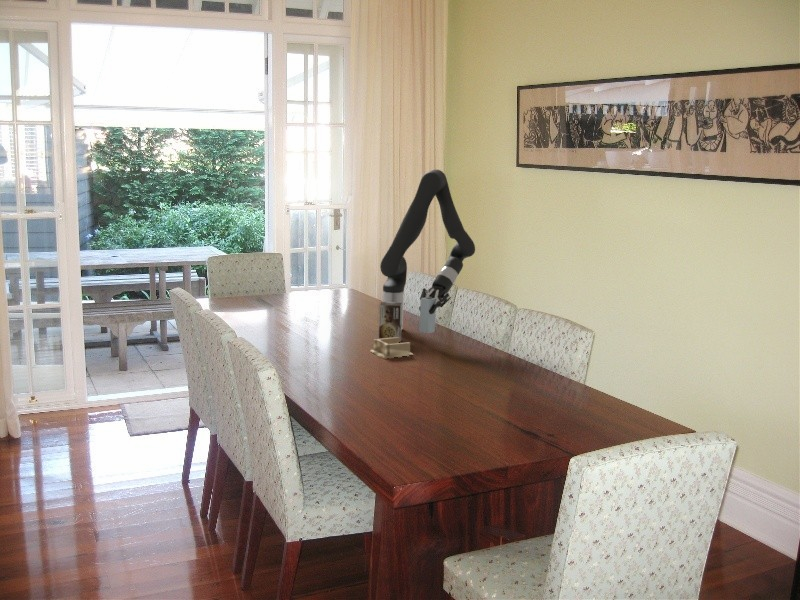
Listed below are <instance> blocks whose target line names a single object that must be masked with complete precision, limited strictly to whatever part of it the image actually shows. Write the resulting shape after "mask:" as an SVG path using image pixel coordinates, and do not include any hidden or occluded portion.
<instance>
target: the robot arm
mask: <svg viewBox="0 0 800 600" xmlns="http://www.w3.org/2000/svg"><path fill="white" fill-rule="evenodd" d="M446 176H447V175H446V174H445V173H444V172H443V171H442V170H441V169H433V170H432V169H431V170H429V171H426V172H425V173H424V174H423V175H422V177H421V179H420V182H419V184H418V187H417V190H416V193H415V195H414V198H413V200H412V202H411V203H410V205H409V208H408V209H407V211H406V213H405V215H404V217H403V219H402V221H401V224H400V225H399V228H398V229H397V232H396V234H395V236H394V238H393V241H392V242H391V245H390V246H389V248H388V250H387V251H386V253H385V254H384V256H383V257H382V260H381V261H380V265H379V266H380V268H379V269H380V272H381V273H382V275H383V276H384V277H386V278H387V280H386V281H385V283H384V284H383V285H382V302H397V303H402V320H401V331H402V330H403V329H404V327H403V325H404V324H403V322H404V300H405V299H404V297H405V295H404V294H405V286H406V283H407V273H408V271H407V270H408V266H407V260H406V258H405V257H404V255H405V253H406V252H407V250H408V249H409V248H410V247H411V246H412V245H413V244H414V243H415V242H416V240H417V239H418V238H419V237H420V234H421V233H422V231H423V228H425V227H424V226H425V224H426V222H427V218H428V212H429V208H430V205H431V204H432V201H433V199H434V198H435V197H436V199H437V202H438V206H439V208H440V213H441V219H442V220H441V221H442V223H443V225H444V228H445V230H446V232H447V235H448V237H449V238H450V239H452V240H455V242H456V244H454V246H453V247H452V248H451V251H450V253H449V256H448V259H447V260H446V262H445V264H444V265H443V267H442V268H441V269H440V270H439V272H438V273H437V276H436V277H435V279H434V280H433V282H432V283H431V284H432V285H431V287H429V288H428V289H427V288H423V289H422V292H421V293H420V297H419V300H420V301H421V298H425V297H427V296H429V297H432V298H434V299H435V301H434V304H433V305H432V306H431V308H430V310H429V313H430V314H433V313H434V312H435V310H436V311H437V308H443V307H444V306H445V305H446V304H447V303H448V302H449V301H450V300H451V298H452V297H451V296H450V293H449V292H450V291H451V289H452V287H453V286H454V283H455V282H456V281H457V278H458V276H459V274H460V273H461V271H462V270H463V268H464V267H463V266H464V263H463V262H464V260H465V259H466V258H471V257H473V255H474V254H475V252H476V245H475V243H474V241H473V239H472V238H471V237H470V235H469V234H468V232H467V231H466V230H465V229H464V226H463V223H462V221H461V218H460V217H459V214H458V212H457V209H456V206H455V204H454V200H453V196H452V195H451V190H450V186H449V183H448V179H447V177H446ZM418 310H419V311H420V306H419V307H418Z"/></svg>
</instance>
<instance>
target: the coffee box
mask: <svg viewBox="0 0 800 600" xmlns="http://www.w3.org/2000/svg"><path fill="white" fill-rule="evenodd" d="M378 309H379V310H378V316H379V317H378V321H379V322H378V339H382V338H393V337H399V342H400V343H401V341H402V330H401V320H402V303H397V302H383V301H380V303H379V307H378Z"/></svg>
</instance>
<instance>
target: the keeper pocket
mask: <svg viewBox="0 0 800 600" xmlns="http://www.w3.org/2000/svg"><path fill="white" fill-rule="evenodd" d="M372 340H373V344H372V345H373V347H372V349H369V353H371V352H372V354H373V353H374V354H373V355H374V356H377V357H379V358H381V359H383V360H386V359H387V358H389V359H395V358H394V357H398V358H403V357H402V356H407V357H410V356H409V355H413V356H414V353H413V352H411V342H409V341H407V342H400V343H399V337H393V338H382V339H379V338H373V339H372Z"/></svg>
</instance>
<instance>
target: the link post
mask: <svg viewBox="0 0 800 600" xmlns="http://www.w3.org/2000/svg"><path fill="white" fill-rule="evenodd" d="M434 301H435V299H434V298H432V297H429V296H427V297H425V298H421V300H420V305H419V307H420V310H419V324H418V325H419V326H418V327H419V328H418V332H420V333H425V334H426V335H427V334H431V333H434V332H435V328H436V327H435V326H436V314H437V313H436V312H437V309H436V310H435V312H434V313H433V314H430V313H429V310H430V308H431V306H432V305H433V304H434Z"/></svg>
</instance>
